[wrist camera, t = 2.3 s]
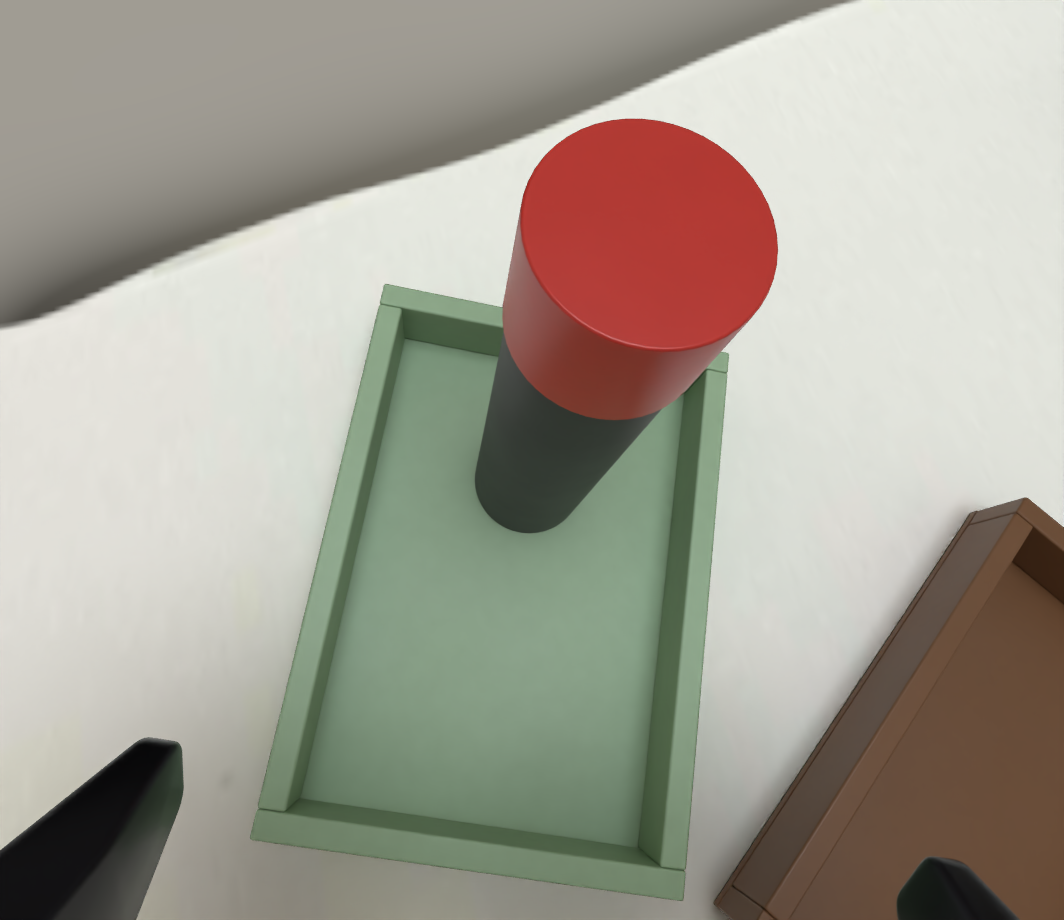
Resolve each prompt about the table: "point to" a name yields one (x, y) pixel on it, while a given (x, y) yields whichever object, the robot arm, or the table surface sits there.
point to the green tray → (498, 636)
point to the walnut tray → (937, 746)
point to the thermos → (614, 305)
